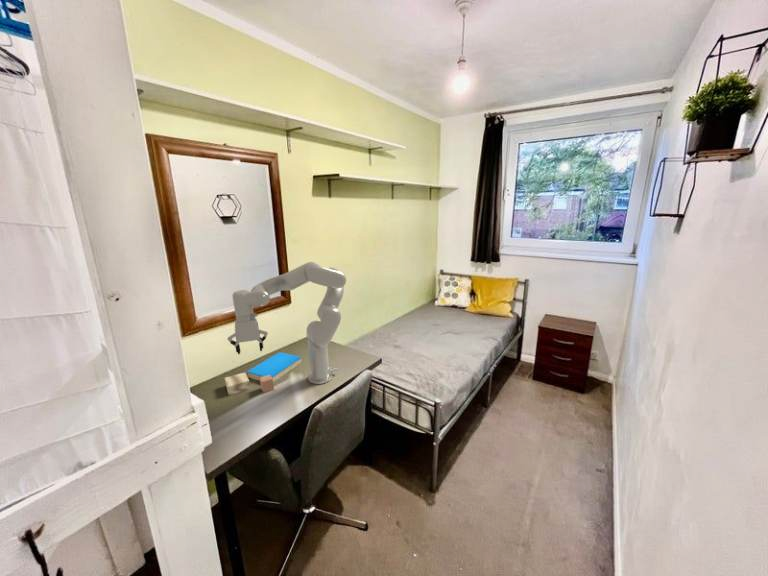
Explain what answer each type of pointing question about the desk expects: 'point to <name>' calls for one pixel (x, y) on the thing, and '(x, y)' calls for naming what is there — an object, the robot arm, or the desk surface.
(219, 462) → the desk surface
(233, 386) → the base
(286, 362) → the book
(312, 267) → the robot arm
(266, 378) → the block
